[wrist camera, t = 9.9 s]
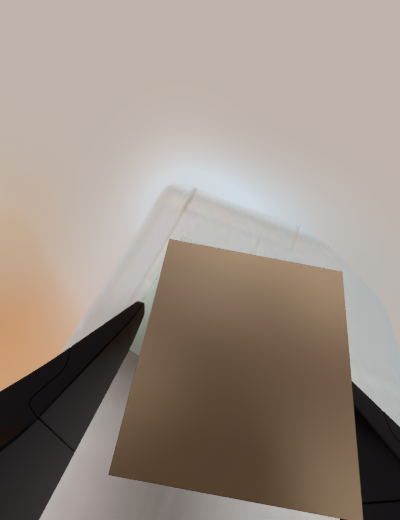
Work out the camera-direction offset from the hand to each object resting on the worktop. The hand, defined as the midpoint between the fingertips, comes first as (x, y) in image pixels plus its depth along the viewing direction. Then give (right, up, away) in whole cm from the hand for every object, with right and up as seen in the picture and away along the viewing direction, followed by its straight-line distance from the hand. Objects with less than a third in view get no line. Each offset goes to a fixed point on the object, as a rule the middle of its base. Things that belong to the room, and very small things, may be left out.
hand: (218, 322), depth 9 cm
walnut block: (0, -2, +8) cm, 8 cm away
